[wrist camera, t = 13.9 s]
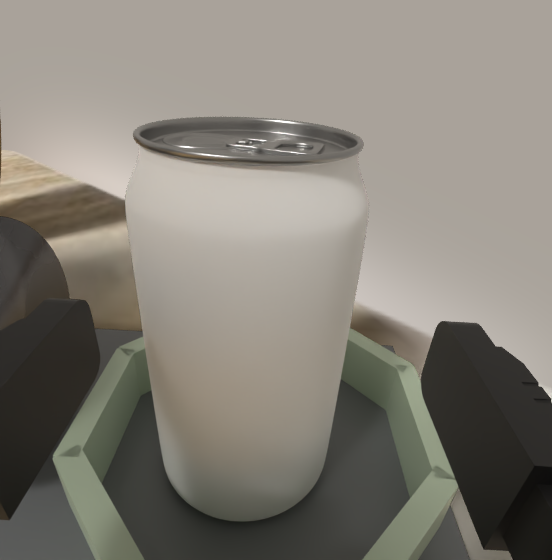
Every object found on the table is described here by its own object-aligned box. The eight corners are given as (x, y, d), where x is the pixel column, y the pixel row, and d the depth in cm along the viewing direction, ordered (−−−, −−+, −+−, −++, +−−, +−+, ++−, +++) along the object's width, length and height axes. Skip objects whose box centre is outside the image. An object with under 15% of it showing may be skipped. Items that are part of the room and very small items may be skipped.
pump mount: (-414, 669, 10) (-551, 609, 8) (-28, 335, 22) (-50, 282, 20) (510, 724, 10) (568, 676, 8) (389, 359, 22) (402, 309, 20)
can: (204, 373, 19) (189, 109, 13) (335, 404, 18) (384, 126, 12) (128, 498, 14) (42, 140, 8) (309, 555, 12) (377, 178, 6)
